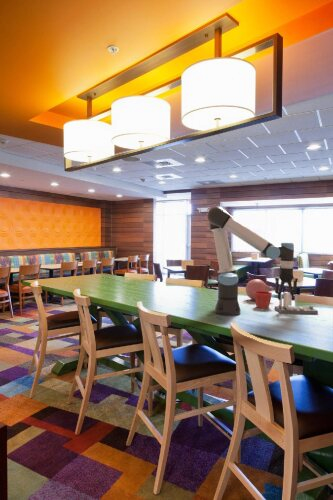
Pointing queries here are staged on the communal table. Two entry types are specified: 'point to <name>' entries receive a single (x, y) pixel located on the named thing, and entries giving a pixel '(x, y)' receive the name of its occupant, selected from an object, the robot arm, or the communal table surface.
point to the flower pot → (262, 299)
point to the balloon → (256, 287)
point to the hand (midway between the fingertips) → (285, 305)
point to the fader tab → (286, 300)
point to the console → (296, 310)
